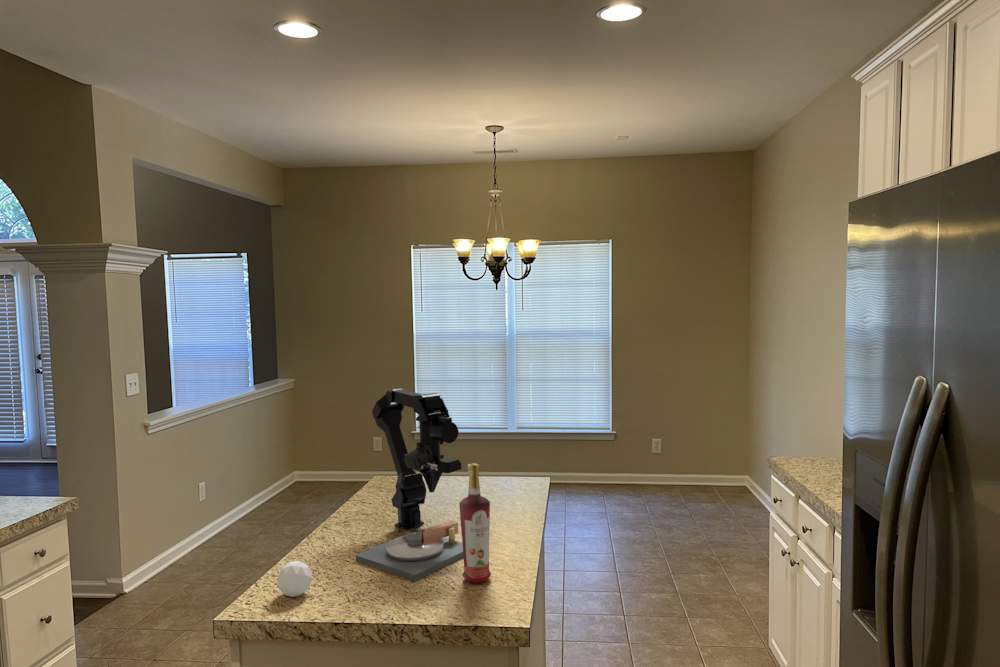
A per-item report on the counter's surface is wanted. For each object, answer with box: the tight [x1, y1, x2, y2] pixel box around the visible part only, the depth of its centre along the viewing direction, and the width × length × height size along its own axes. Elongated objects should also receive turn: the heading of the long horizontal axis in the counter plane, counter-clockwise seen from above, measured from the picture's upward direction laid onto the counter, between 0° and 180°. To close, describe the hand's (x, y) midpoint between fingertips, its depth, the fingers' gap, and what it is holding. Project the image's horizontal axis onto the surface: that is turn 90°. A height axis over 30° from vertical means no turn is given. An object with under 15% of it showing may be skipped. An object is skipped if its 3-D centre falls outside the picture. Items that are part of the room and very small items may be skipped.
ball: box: [276, 560, 313, 598], centre depth 150 cm, size 8×8×8 cm
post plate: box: [355, 527, 464, 582], centre depth 171 cm, size 22×22×6 cm
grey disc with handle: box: [386, 520, 459, 561], centre depth 172 cm, size 20×15×5 cm
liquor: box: [459, 462, 492, 585], centre depth 154 cm, size 7×7×28 cm
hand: (431, 492), depth 184 cm, fingers closed
